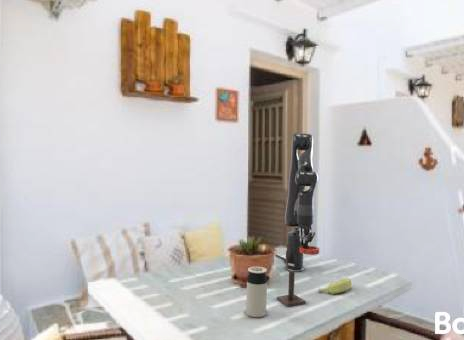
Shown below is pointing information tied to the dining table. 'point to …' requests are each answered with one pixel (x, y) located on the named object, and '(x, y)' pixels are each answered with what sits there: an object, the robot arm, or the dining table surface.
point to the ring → (309, 250)
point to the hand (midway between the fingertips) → (304, 250)
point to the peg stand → (291, 294)
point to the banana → (338, 286)
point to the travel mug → (256, 292)
